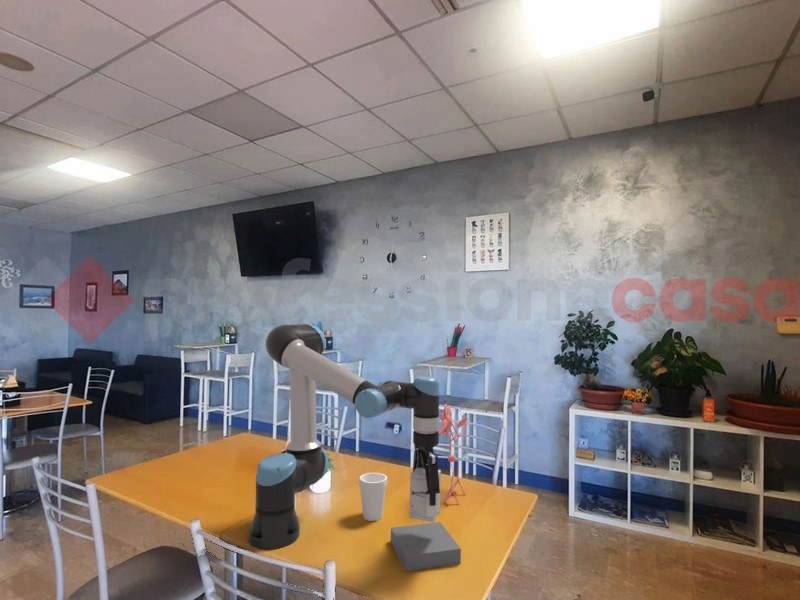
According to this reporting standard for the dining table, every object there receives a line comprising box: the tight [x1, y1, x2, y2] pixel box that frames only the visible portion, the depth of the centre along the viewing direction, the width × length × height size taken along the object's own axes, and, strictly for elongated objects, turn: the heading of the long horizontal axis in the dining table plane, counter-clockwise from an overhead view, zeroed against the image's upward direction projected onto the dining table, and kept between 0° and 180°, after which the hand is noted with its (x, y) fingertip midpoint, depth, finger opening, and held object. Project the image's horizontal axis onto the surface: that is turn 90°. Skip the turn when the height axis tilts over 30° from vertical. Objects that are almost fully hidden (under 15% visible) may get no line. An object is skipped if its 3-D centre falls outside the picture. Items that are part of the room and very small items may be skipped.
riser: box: [390, 521, 462, 572], centre depth 125 cm, size 16×16×4 cm
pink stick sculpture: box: [438, 403, 471, 505], centre depth 165 cm, size 15×26×35 cm, turn 157°
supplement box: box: [408, 467, 442, 523], centre depth 126 cm, size 7×7×13 cm
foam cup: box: [358, 472, 388, 522], centre depth 147 cm, size 10×9×13 cm
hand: (425, 507), depth 126 cm, fingers closed on supplement box, 10 cm apart
